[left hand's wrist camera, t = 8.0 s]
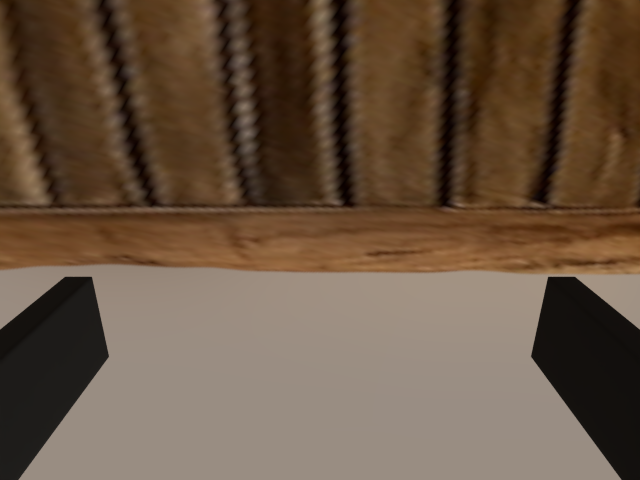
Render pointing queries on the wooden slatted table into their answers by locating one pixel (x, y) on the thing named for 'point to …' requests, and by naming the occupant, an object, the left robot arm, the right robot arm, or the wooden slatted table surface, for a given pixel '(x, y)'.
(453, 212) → the wooden slatted table surface
